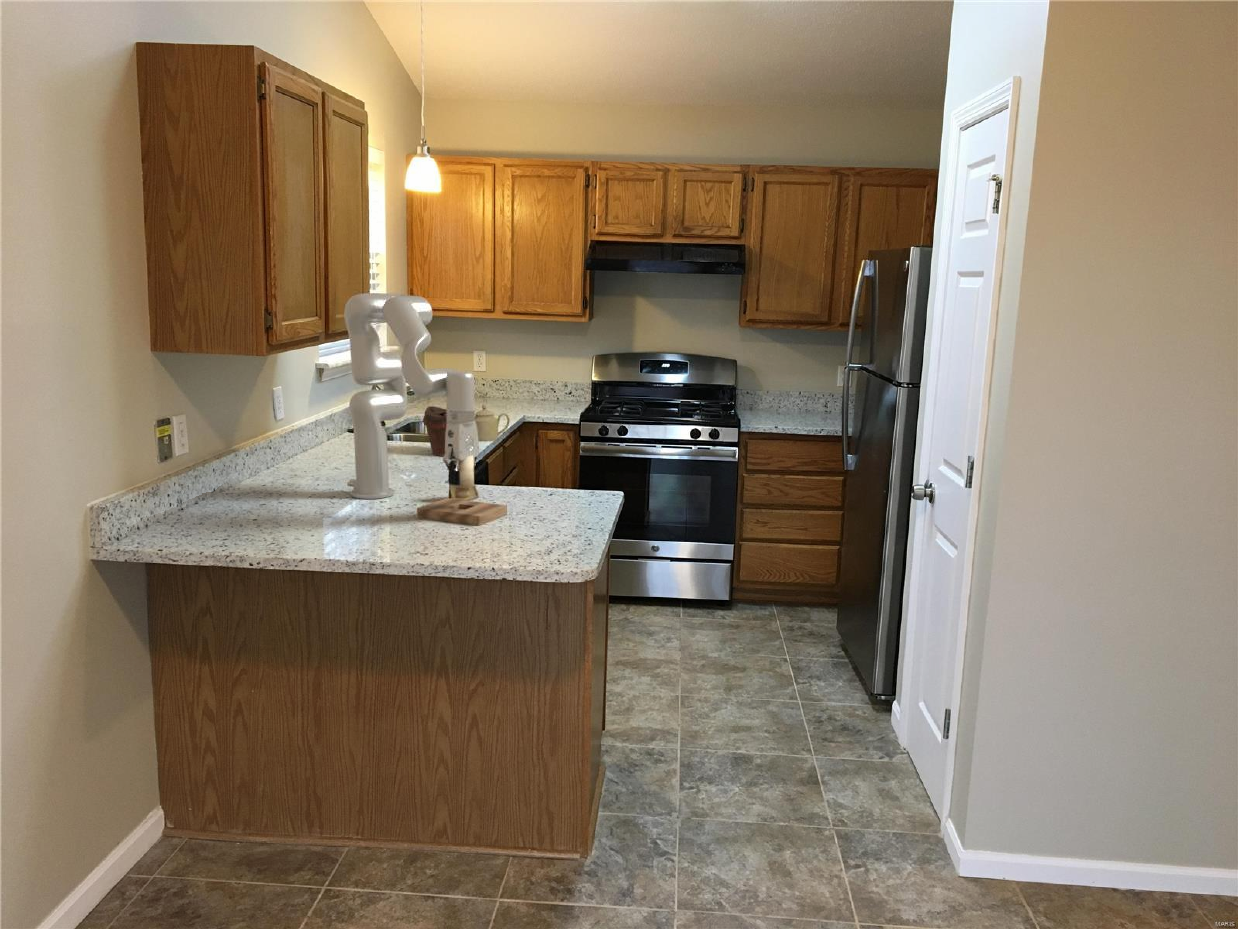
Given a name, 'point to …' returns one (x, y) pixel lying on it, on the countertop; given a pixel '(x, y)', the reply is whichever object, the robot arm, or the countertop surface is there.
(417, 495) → the countertop surface
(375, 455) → the robot arm
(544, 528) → the countertop surface
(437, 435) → the brown tapered pot
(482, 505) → the board
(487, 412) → the sugar bowl
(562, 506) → the countertop surface
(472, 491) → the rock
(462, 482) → the peg
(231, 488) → the countertop surface
